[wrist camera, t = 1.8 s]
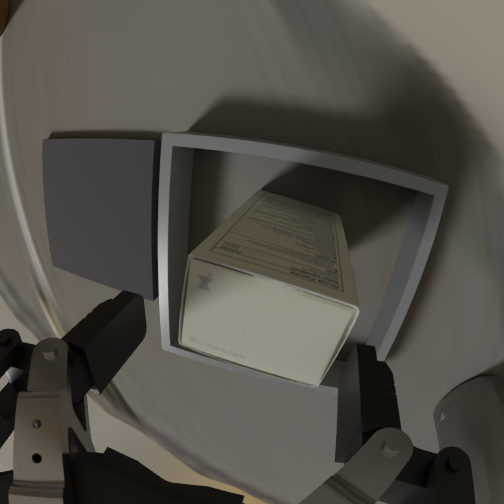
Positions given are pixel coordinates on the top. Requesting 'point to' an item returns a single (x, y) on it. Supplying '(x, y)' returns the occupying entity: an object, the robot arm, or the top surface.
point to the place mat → (103, 209)
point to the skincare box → (271, 290)
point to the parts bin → (184, 143)
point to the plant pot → (3, 14)
